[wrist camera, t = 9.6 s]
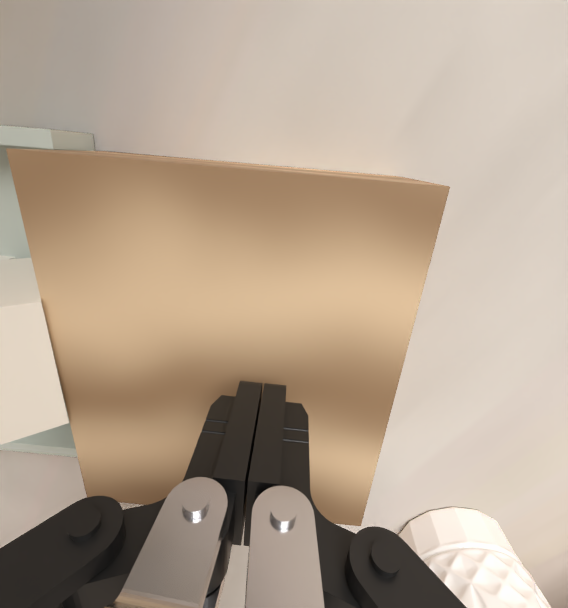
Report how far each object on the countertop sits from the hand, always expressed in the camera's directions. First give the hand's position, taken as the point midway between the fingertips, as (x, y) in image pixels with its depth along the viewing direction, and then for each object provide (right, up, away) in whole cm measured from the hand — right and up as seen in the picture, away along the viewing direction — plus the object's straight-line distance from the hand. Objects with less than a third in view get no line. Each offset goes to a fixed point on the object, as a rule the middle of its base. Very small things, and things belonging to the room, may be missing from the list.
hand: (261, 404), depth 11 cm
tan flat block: (-1, +3, +5) cm, 6 cm away
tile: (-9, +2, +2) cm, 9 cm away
